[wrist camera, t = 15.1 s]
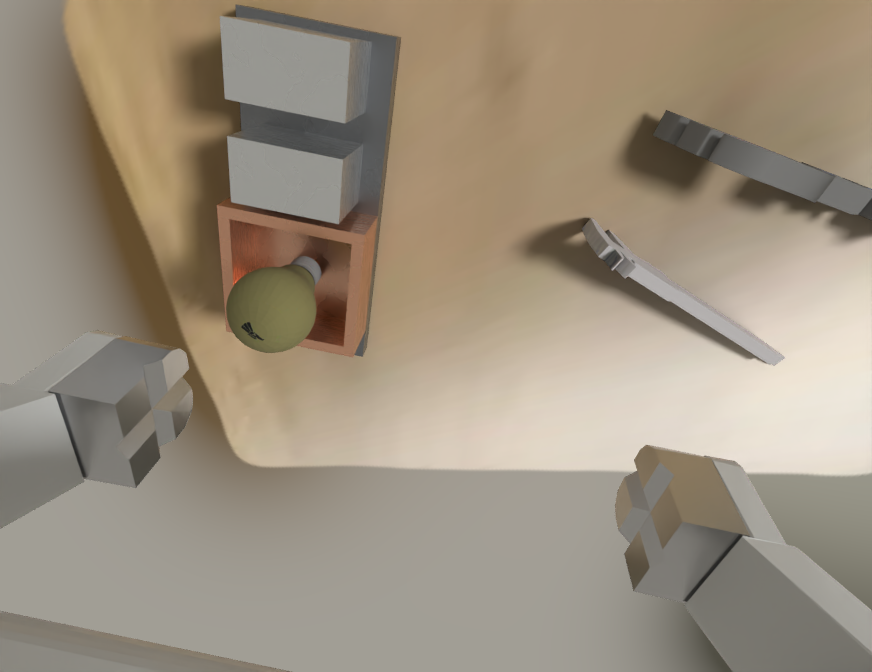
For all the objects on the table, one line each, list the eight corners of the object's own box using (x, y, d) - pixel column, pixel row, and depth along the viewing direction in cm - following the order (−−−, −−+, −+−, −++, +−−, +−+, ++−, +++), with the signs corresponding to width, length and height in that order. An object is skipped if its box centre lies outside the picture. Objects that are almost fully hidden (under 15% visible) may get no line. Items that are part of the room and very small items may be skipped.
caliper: (579, 226, 36) (593, 259, 30) (589, 214, 35) (605, 245, 30) (771, 362, 40) (813, 412, 35) (783, 353, 39) (827, 403, 34)
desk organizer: (246, 6, 31) (190, -2, 25) (401, 37, 30) (379, 36, 25) (257, 324, 43) (222, 366, 38) (366, 347, 43) (347, 392, 38)
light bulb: (264, 277, 39) (199, 344, 30) (287, 219, 36) (221, 274, 27) (327, 310, 40) (281, 383, 31) (354, 255, 37) (311, 320, 28)
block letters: (647, 132, 32) (673, 149, 27) (660, 107, 31) (689, 120, 26) (974, 256, 34) (1052, 293, 29) (995, 236, 33) (1079, 270, 28)
